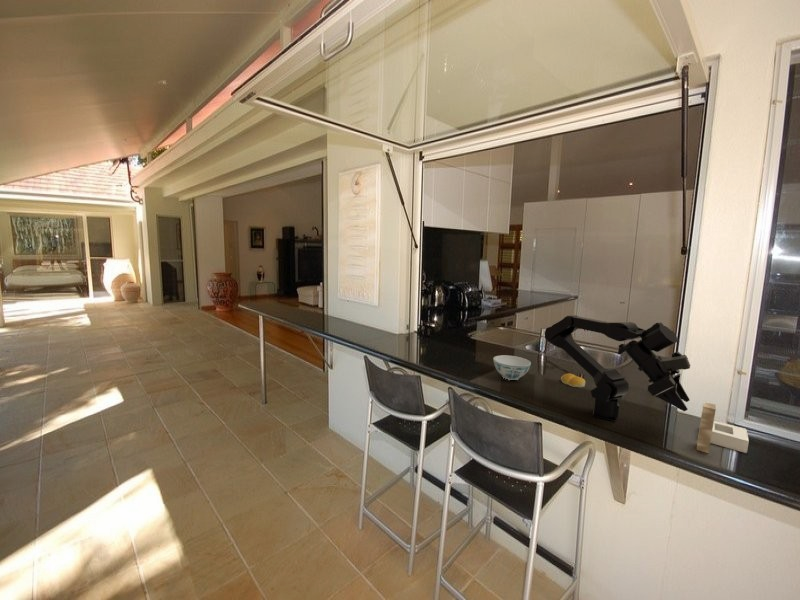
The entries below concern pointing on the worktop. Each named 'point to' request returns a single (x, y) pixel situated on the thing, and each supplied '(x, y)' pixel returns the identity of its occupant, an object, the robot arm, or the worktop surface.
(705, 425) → the slat
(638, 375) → the worktop surface
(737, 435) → the end cap
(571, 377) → the bread roll
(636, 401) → the worktop surface
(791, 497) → the worktop surface
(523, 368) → the chinaware
